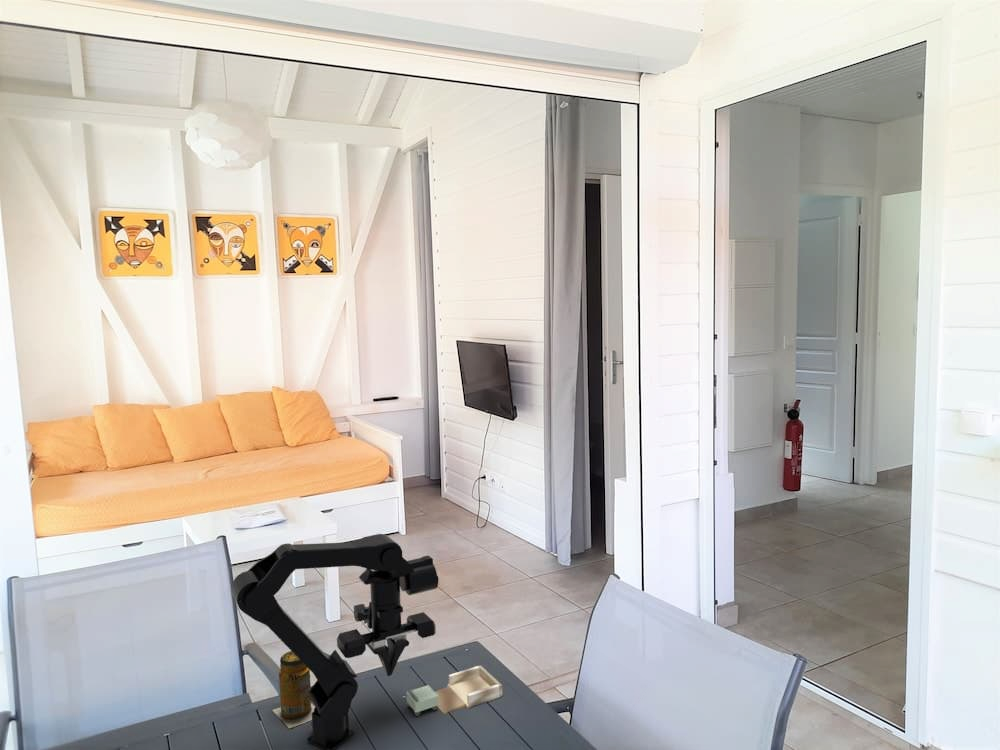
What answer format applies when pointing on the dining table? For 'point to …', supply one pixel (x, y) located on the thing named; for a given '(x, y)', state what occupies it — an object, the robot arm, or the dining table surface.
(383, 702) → the dining table surface
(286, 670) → the condiment
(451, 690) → the dock
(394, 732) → the dining table surface
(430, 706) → the pale green pegged cube
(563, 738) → the dining table surface
